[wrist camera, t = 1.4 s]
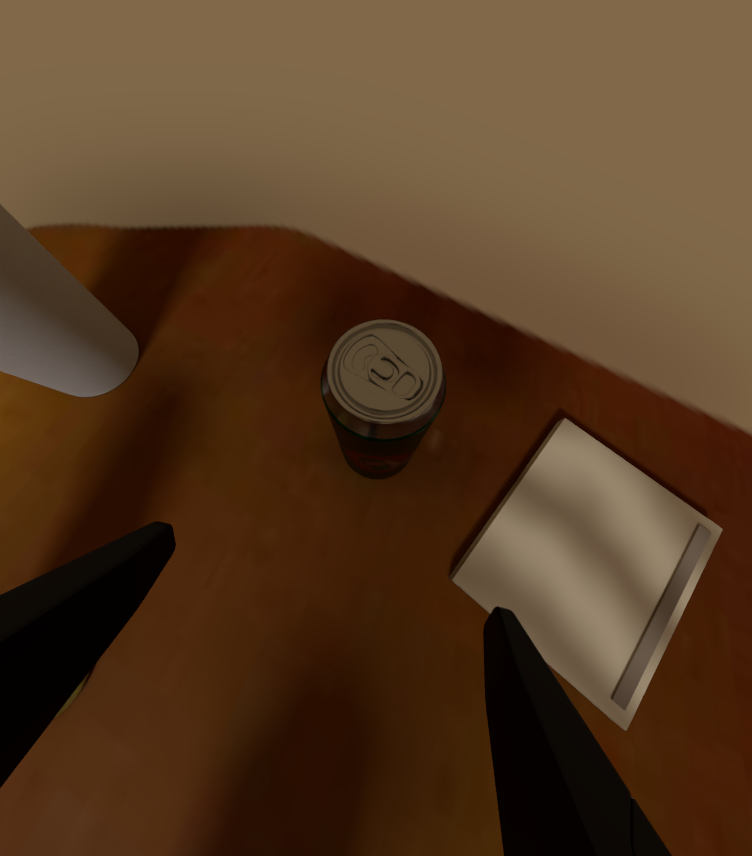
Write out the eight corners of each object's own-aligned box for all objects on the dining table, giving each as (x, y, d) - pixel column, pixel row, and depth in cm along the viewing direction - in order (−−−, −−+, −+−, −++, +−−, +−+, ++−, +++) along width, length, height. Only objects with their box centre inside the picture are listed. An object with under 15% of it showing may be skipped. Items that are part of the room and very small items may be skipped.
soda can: (371, 400, 24) (373, 288, 13) (425, 440, 23) (478, 359, 12) (328, 451, 23) (287, 377, 12) (383, 495, 22) (398, 463, 11)
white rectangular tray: (613, 720, 19) (628, 732, 18) (448, 577, 21) (452, 580, 20) (707, 529, 22) (725, 529, 21) (557, 422, 24) (566, 417, 23)
